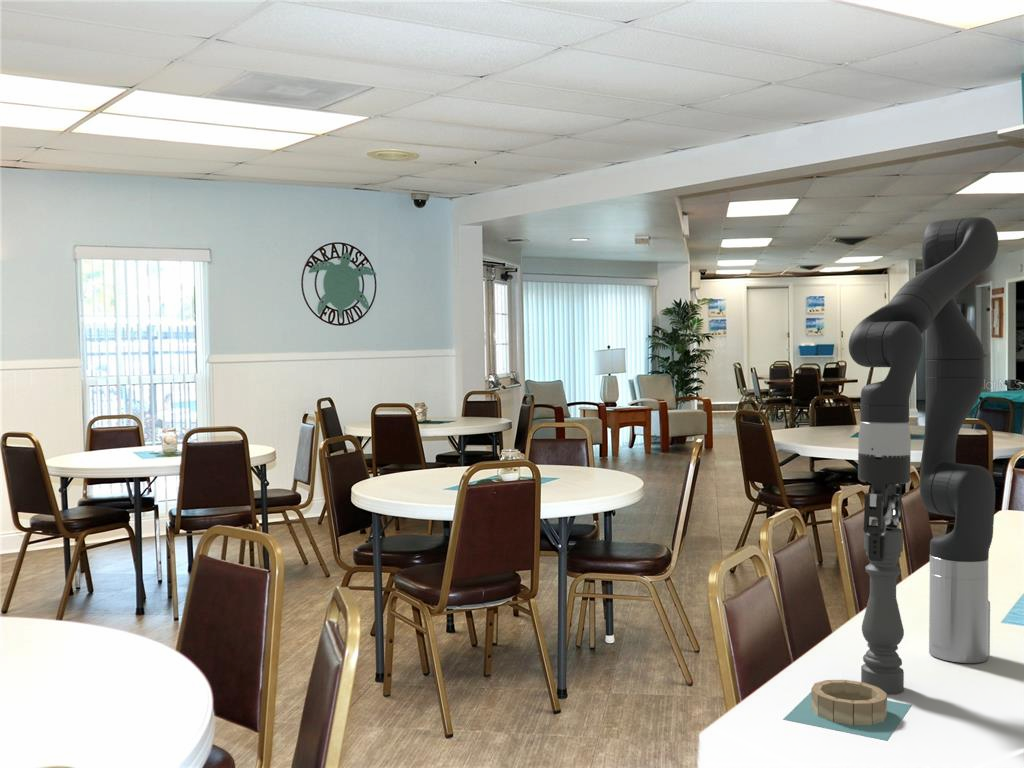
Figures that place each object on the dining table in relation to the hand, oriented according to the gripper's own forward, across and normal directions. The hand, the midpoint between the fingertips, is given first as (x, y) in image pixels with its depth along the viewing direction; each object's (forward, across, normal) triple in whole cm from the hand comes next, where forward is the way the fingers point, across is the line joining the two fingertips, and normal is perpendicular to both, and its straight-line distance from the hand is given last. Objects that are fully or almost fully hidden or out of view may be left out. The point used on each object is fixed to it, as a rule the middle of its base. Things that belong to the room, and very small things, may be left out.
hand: (882, 556), depth 149 cm
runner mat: (+21, +13, -2) cm, 25 cm away
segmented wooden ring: (+20, +13, -2) cm, 25 cm away
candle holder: (+21, 0, 0) cm, 21 cm away
